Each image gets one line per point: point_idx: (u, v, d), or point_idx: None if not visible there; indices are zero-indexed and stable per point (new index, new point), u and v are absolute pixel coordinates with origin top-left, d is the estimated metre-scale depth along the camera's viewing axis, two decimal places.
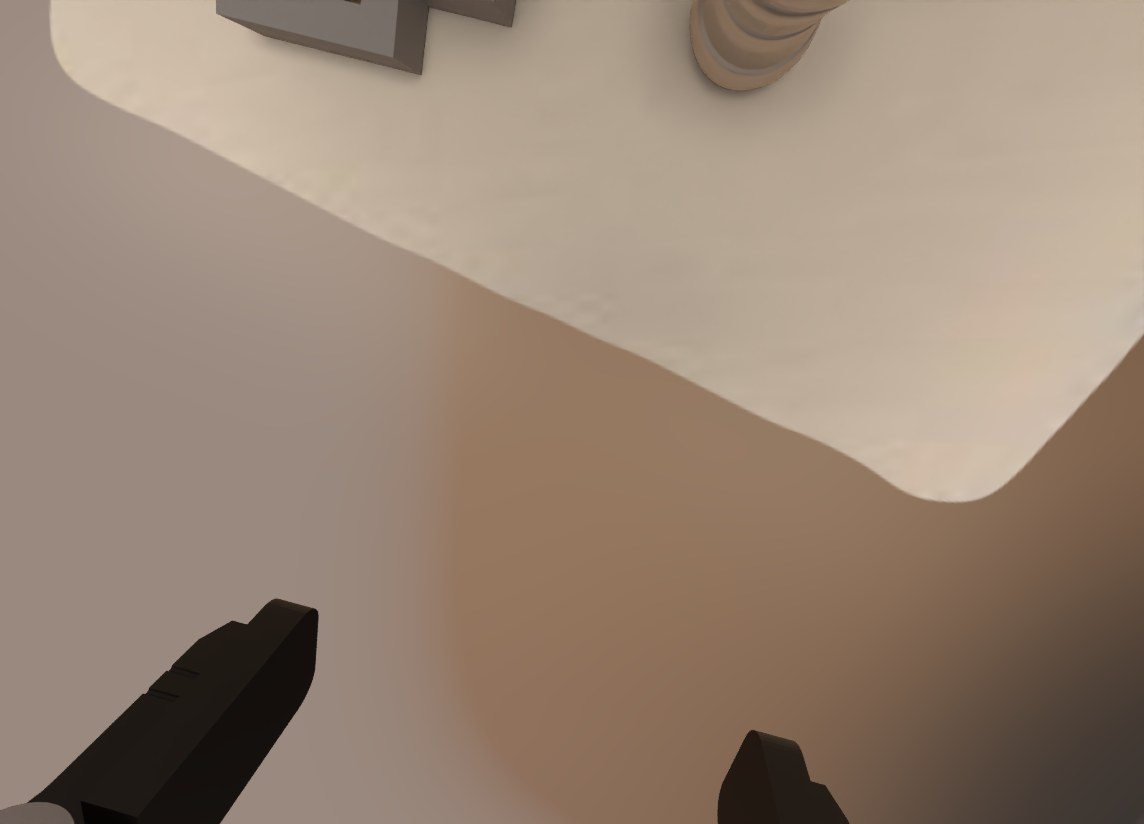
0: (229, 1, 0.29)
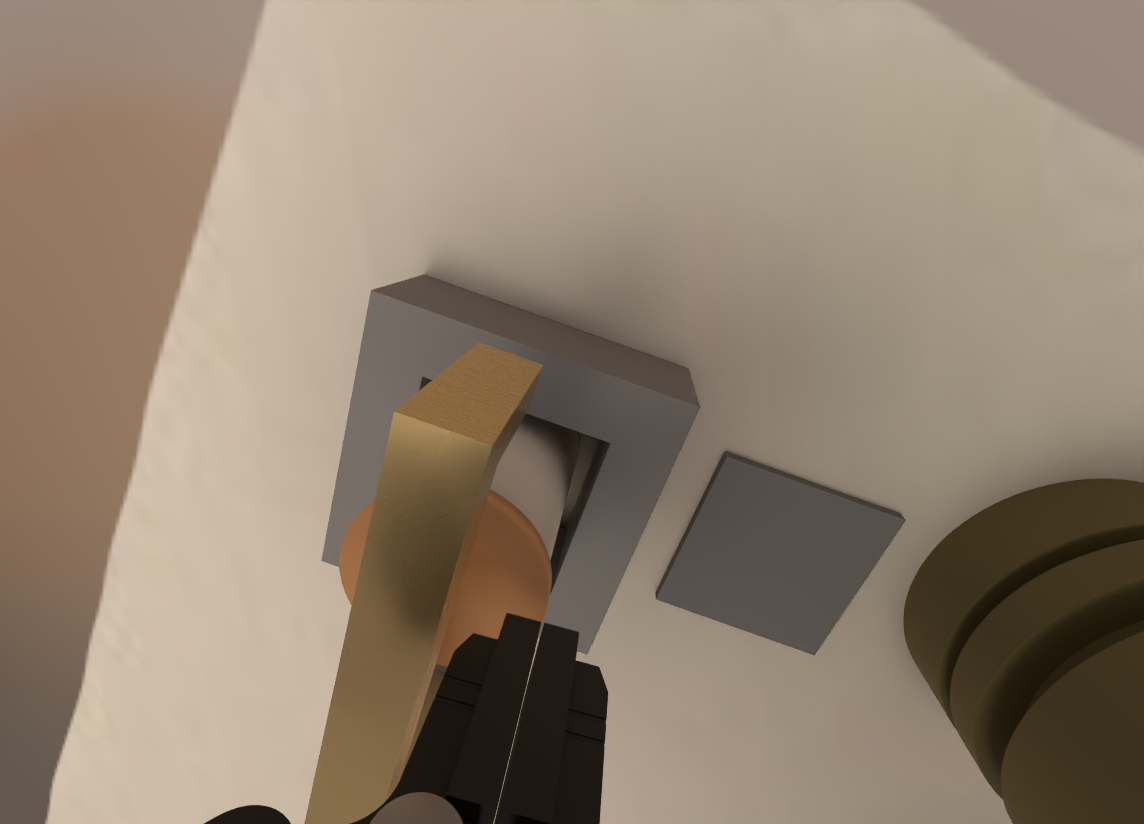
0: (389, 323, 0.16)
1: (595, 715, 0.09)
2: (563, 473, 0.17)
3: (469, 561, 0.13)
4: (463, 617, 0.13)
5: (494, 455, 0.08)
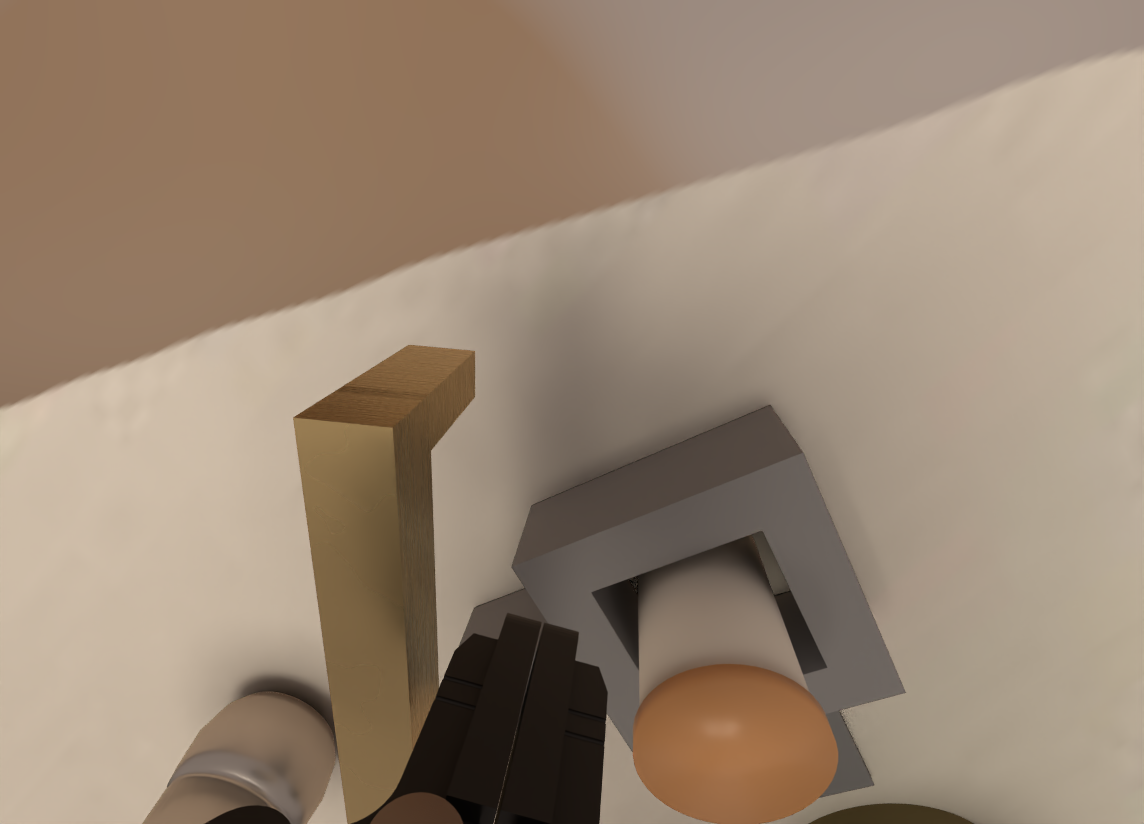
0: (786, 481, 0.16)
1: (595, 715, 0.09)
2: None
3: (772, 761, 0.14)
4: (716, 783, 0.14)
5: (409, 440, 0.08)
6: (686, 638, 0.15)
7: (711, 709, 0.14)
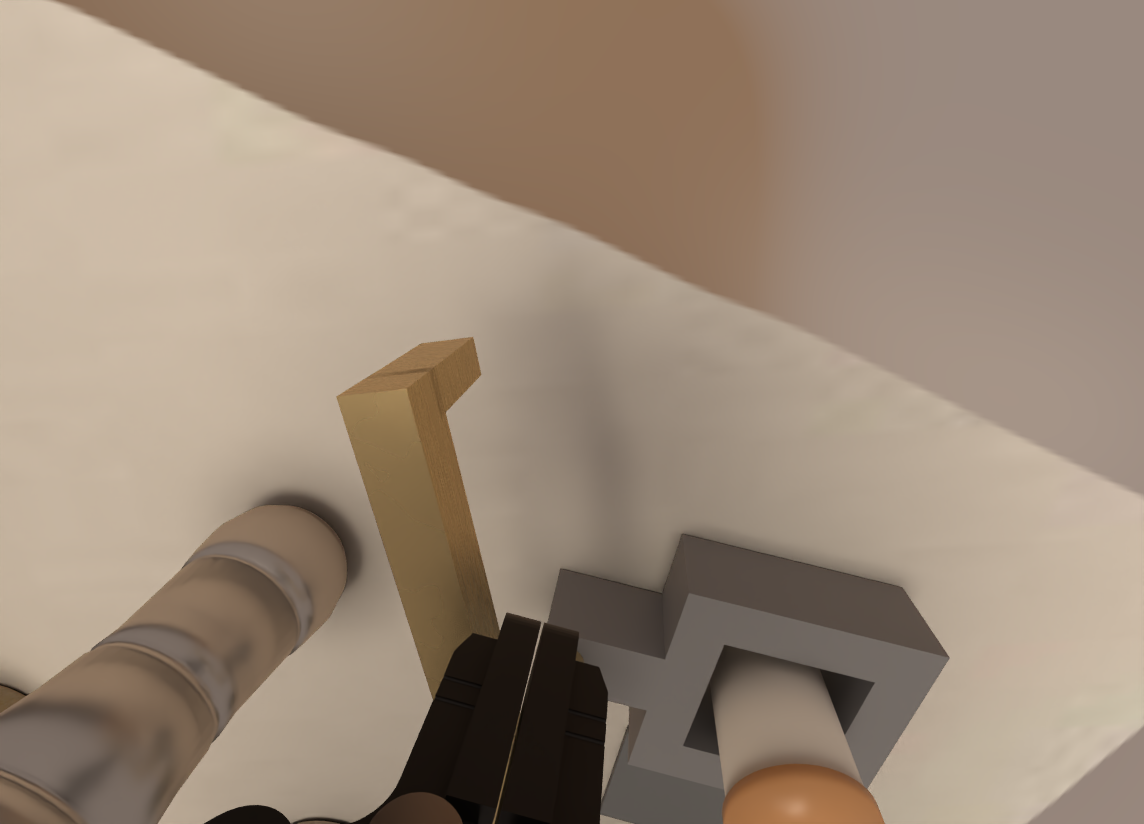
0: (921, 666, 0.21)
1: (595, 715, 0.09)
2: None
3: None
4: None
5: (423, 400, 0.10)
6: (811, 735, 0.19)
7: (828, 803, 0.17)
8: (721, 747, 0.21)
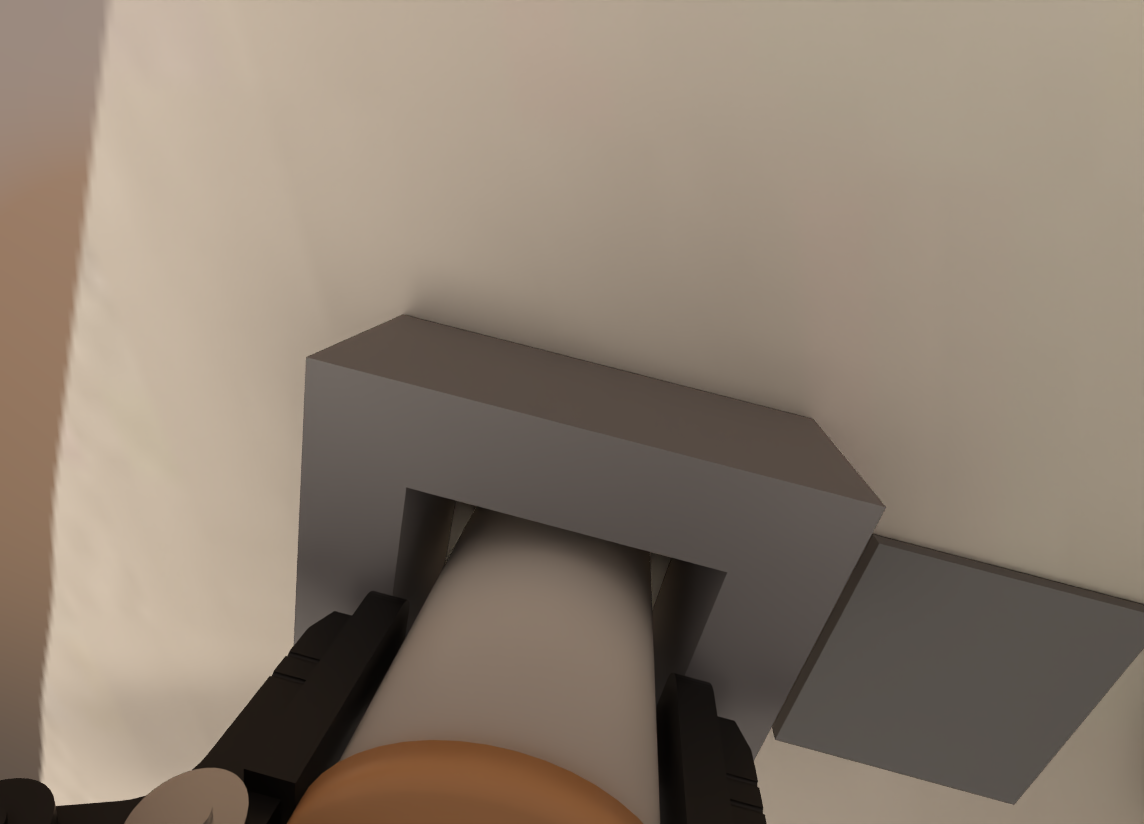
0: (342, 407, 0.09)
1: (746, 777, 0.09)
2: (647, 616, 0.11)
3: None
4: None
5: None
6: None
7: None
8: None
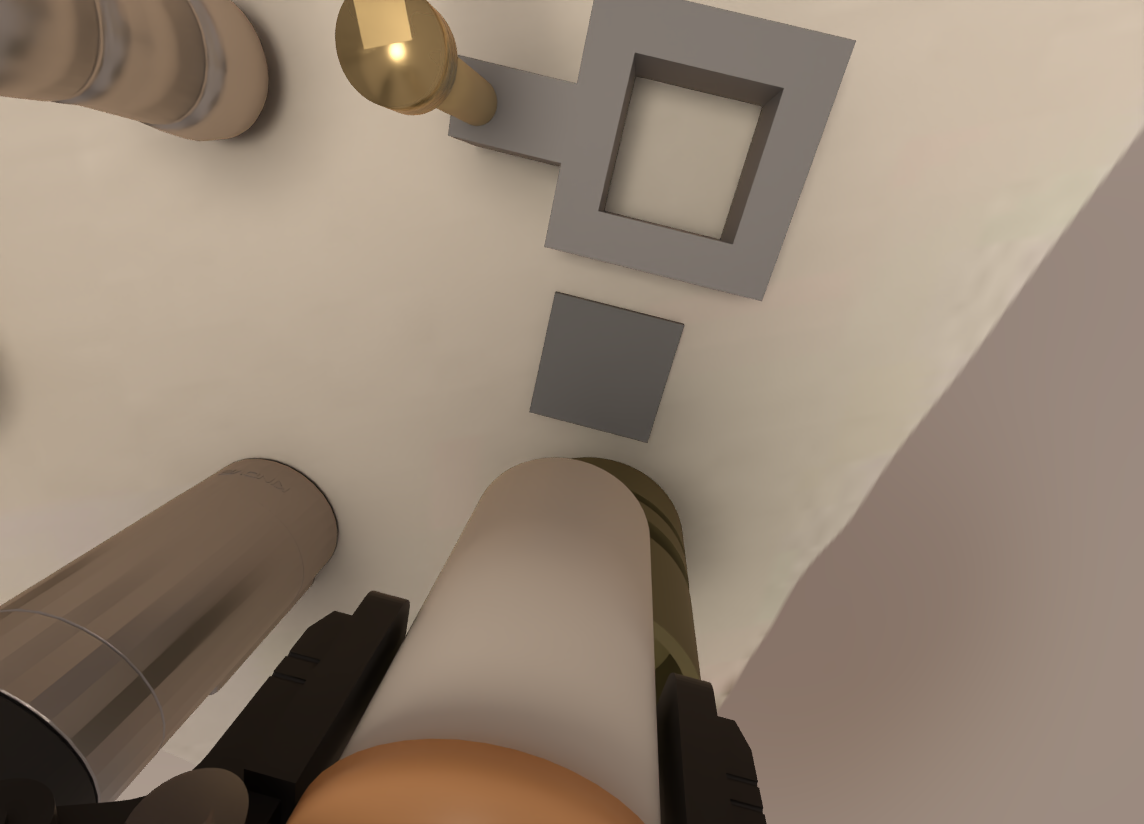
0: (828, 57, 0.20)
1: (746, 777, 0.09)
2: (648, 615, 0.11)
3: None
4: None
5: None
6: None
7: None
8: None
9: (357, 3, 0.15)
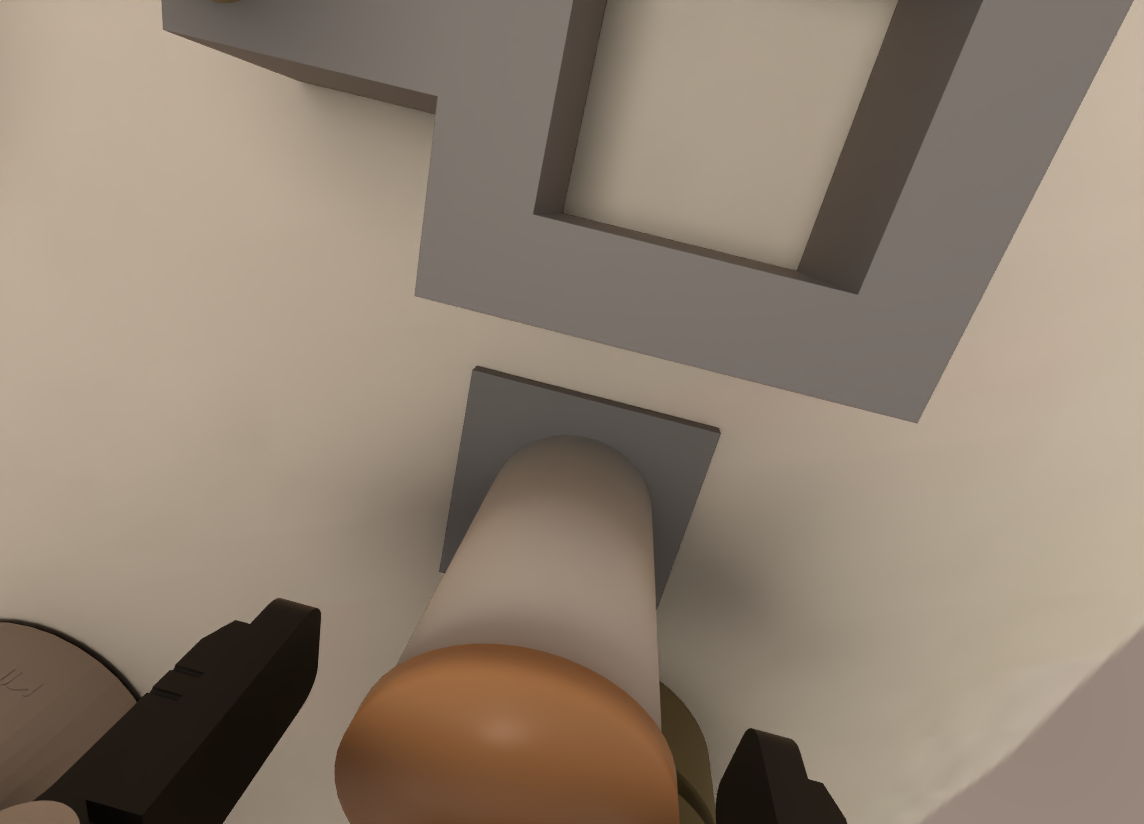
0: None
1: None
2: (650, 569, 0.12)
3: (545, 780, 0.08)
4: None
5: None
6: None
7: (387, 772, 0.08)
8: None
9: None
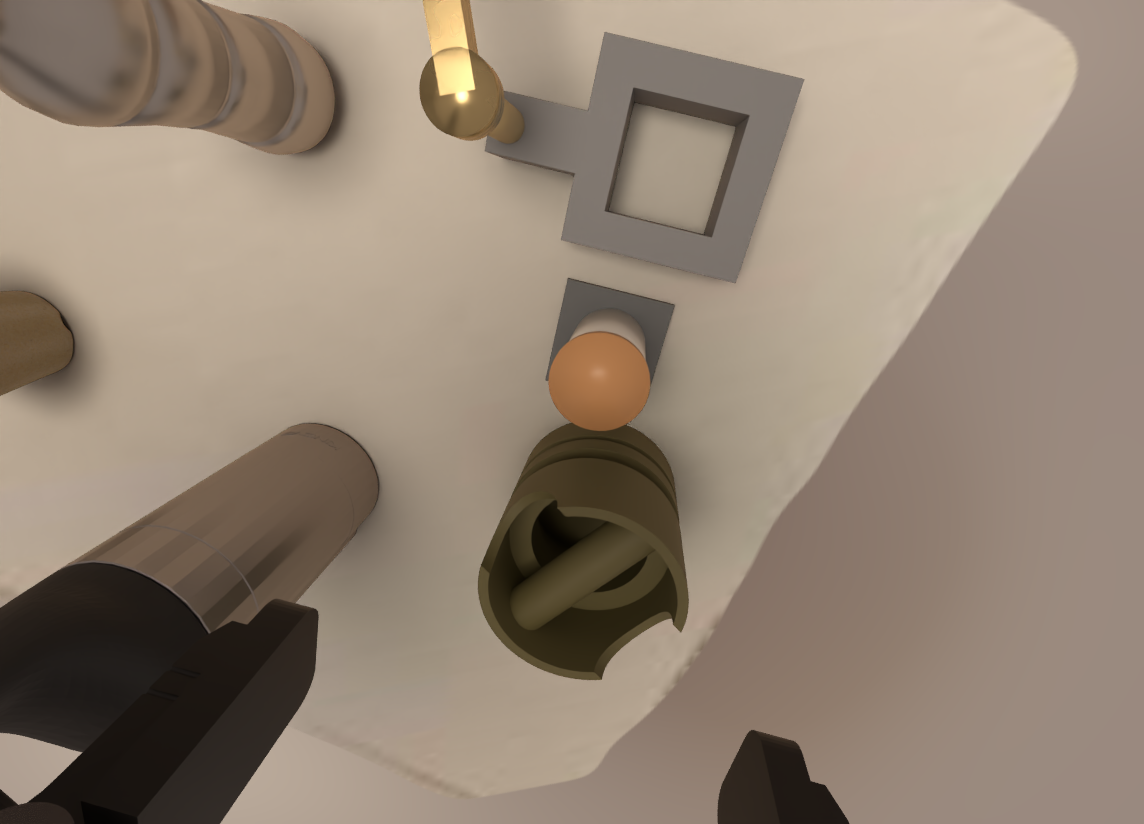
0: (783, 91, 0.26)
1: None
2: (643, 346, 0.32)
3: (612, 369, 0.27)
4: (608, 401, 0.28)
5: None
6: None
7: (565, 372, 0.28)
8: None
9: (435, 63, 0.20)
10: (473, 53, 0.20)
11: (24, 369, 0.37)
